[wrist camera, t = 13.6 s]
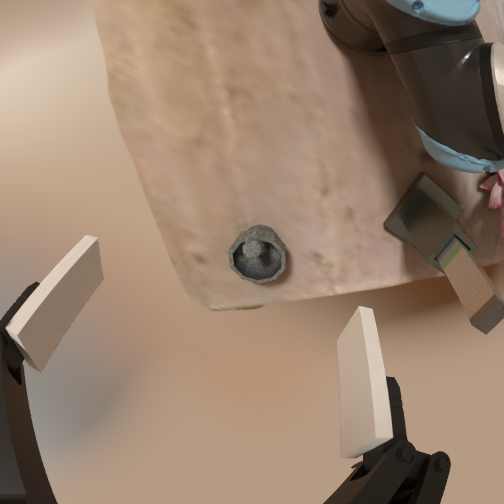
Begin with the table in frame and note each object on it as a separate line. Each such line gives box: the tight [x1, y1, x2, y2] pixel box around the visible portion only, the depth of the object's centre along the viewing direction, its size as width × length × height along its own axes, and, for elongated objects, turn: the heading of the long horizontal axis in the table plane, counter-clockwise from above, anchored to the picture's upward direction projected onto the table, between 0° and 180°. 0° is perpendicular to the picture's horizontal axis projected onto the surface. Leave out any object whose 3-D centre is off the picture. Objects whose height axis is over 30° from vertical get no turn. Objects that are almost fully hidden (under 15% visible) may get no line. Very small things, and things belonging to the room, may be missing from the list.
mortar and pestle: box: [228, 224, 286, 284], centre depth 49 cm, size 11×9×12 cm
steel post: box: [436, 234, 504, 334], centre depth 33 cm, size 4×4×20 cm
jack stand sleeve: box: [384, 172, 478, 276], centre depth 41 cm, size 12×12×13 cm
